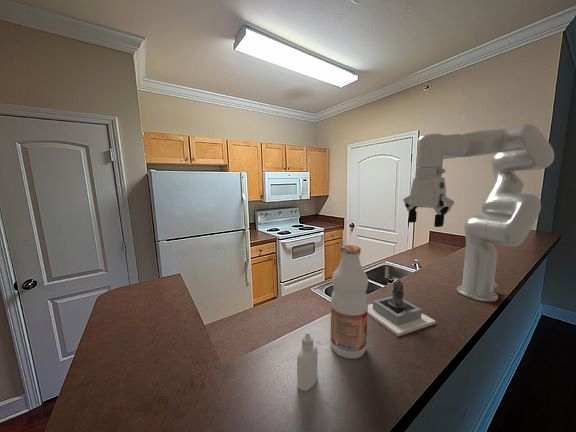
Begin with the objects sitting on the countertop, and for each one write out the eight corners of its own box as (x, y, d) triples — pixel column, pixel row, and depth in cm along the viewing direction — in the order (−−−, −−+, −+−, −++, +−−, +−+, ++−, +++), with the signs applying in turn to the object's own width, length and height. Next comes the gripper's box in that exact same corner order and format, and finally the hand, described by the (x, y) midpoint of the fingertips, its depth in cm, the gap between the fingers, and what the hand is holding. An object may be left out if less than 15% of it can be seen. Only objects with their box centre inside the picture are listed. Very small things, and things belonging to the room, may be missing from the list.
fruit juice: (324, 339, 65) (325, 244, 61) (353, 333, 68) (356, 241, 64) (340, 363, 56) (343, 254, 52) (373, 355, 59) (378, 250, 55)
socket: (394, 300, 87) (395, 290, 86) (435, 323, 72) (436, 312, 71) (360, 309, 81) (361, 298, 80) (397, 336, 66) (398, 323, 65)
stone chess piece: (409, 319, 73) (411, 283, 71) (389, 317, 74) (391, 282, 72) (403, 309, 78) (405, 276, 77) (385, 307, 80) (387, 275, 78)
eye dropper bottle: (292, 378, 52) (291, 330, 50) (313, 370, 54) (313, 323, 52) (300, 394, 48) (300, 342, 46) (323, 384, 50) (324, 334, 49)
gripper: (463, 172, 69) (458, 227, 71) (413, 174, 85) (410, 220, 87) (447, 171, 66) (442, 229, 68) (398, 174, 82) (395, 221, 84)
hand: (424, 224), depth 78 cm, fingers open, 9 cm apart
